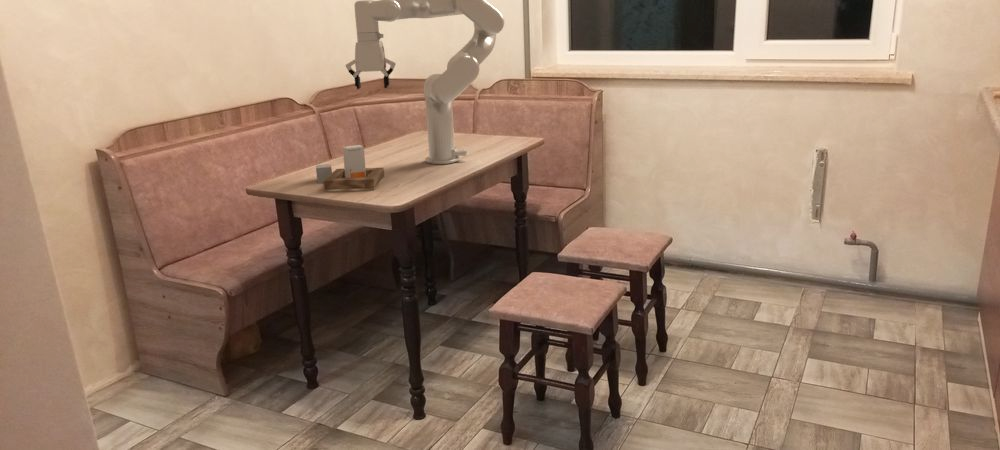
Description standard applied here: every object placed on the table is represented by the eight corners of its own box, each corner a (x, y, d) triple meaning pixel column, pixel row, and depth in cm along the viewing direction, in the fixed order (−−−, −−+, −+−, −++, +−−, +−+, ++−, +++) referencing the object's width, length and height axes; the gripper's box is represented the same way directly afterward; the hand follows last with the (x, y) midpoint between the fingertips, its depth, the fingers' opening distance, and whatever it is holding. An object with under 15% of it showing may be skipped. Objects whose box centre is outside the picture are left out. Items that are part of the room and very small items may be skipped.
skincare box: (349, 184, 247) (345, 148, 244) (345, 182, 251) (342, 146, 247) (367, 182, 250) (364, 146, 246) (363, 179, 253) (360, 144, 250)
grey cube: (332, 178, 260) (331, 164, 259) (332, 181, 256) (331, 167, 254) (317, 179, 259) (316, 165, 258) (317, 182, 255) (315, 168, 253)
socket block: (384, 177, 258) (383, 167, 257) (374, 190, 242) (373, 179, 241) (337, 178, 259) (336, 168, 258) (324, 191, 243) (323, 180, 242)
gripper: (395, 36, 264) (398, 86, 269) (345, 38, 265) (350, 87, 270) (391, 37, 257) (395, 88, 262) (340, 39, 258) (345, 90, 263)
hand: (372, 88), depth 266 cm, fingers open, 9 cm apart
